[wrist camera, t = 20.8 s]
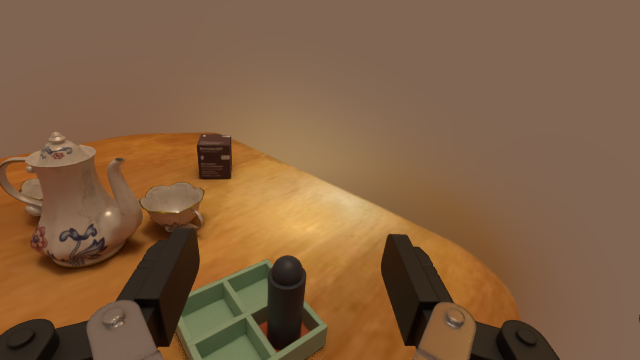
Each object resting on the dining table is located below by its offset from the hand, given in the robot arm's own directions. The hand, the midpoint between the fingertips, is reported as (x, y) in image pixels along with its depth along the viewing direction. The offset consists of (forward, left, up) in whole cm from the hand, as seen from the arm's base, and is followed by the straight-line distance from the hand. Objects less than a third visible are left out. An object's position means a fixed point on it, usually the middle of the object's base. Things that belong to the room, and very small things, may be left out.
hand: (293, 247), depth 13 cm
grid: (+12, -4, -22) cm, 25 cm away
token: (+9, -6, -21) cm, 24 cm away
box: (+49, -16, -22) cm, 56 cm away
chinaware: (+38, +5, -22) cm, 44 cm away
